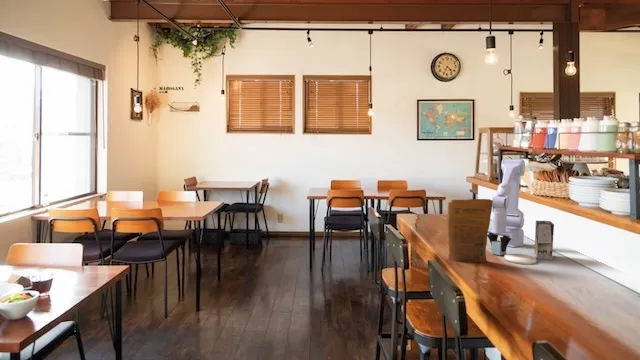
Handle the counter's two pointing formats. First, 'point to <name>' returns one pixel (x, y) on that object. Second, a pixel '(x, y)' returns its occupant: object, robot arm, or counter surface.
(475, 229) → the pancake mix bag
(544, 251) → the coffee box
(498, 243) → the block
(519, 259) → the saucer
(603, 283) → the counter surface
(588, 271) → the counter surface
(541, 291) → the counter surface
